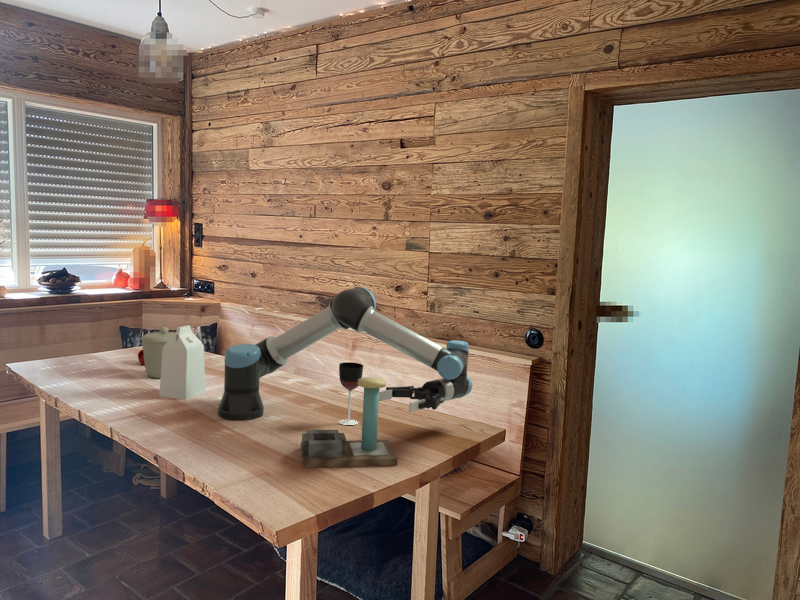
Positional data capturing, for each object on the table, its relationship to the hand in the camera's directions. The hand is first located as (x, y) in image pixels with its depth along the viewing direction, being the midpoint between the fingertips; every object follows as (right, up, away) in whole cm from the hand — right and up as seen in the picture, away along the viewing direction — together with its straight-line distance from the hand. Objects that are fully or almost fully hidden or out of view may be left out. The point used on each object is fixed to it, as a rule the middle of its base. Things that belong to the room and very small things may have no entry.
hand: (392, 402), depth 174 cm
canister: (-98, -2, +73) cm, 123 cm away
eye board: (-13, -14, -7) cm, 20 cm away
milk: (-81, -5, +48) cm, 94 cm away
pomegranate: (-113, +1, +94) cm, 147 cm away
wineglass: (-15, -11, +24) cm, 31 cm away
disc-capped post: (-7, -12, -6) cm, 15 cm away
